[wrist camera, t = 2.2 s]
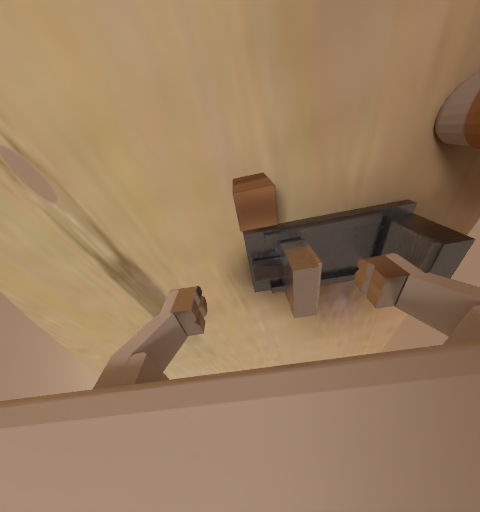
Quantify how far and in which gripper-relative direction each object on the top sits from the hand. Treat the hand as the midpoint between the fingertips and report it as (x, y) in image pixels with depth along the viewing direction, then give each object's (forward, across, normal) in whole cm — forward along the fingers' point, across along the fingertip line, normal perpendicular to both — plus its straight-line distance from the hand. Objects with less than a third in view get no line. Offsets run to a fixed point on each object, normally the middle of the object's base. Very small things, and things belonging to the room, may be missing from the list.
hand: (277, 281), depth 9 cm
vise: (+18, -10, +11) cm, 23 cm away
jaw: (+16, -3, +11) cm, 20 cm away
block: (+18, 0, 0) cm, 18 cm away
